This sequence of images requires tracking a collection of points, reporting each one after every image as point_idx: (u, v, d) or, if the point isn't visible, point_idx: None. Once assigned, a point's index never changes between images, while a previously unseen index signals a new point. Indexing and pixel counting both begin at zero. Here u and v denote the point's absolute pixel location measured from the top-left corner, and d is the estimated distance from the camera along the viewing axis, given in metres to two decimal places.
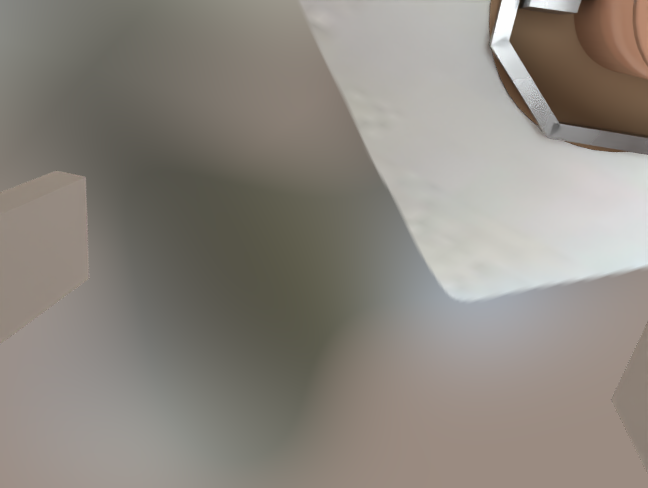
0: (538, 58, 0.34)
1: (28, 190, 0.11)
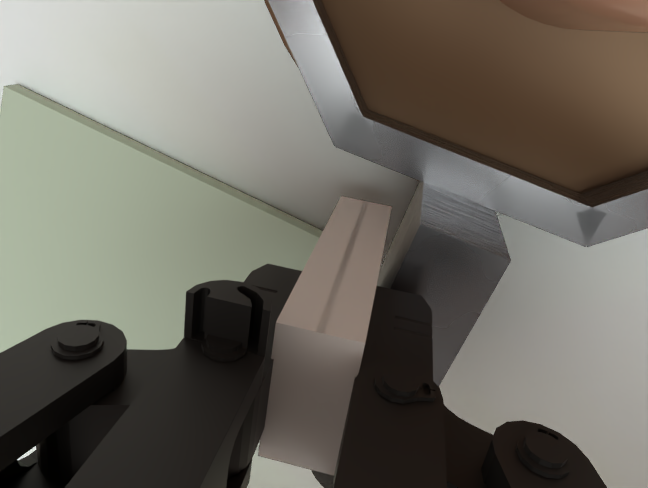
0: None
1: (345, 215, 0.13)
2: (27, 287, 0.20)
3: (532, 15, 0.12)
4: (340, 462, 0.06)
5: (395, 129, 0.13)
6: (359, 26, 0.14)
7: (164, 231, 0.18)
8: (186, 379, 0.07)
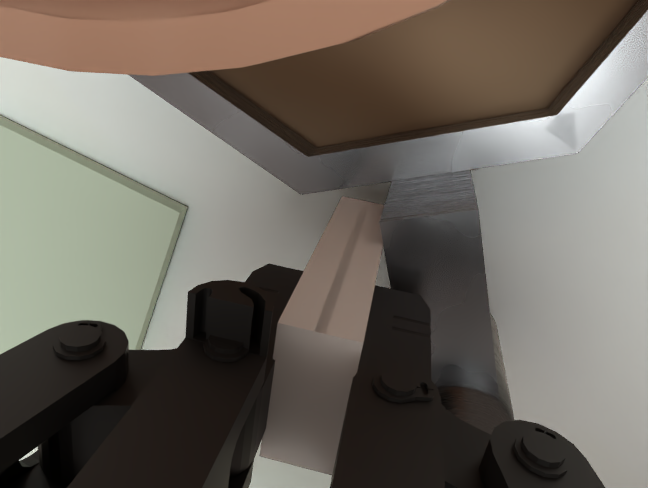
0: None
1: (346, 215, 0.13)
2: None
3: None
4: (338, 462, 0.06)
5: (340, 151, 0.14)
6: None
7: (16, 196, 0.18)
8: (188, 380, 0.07)
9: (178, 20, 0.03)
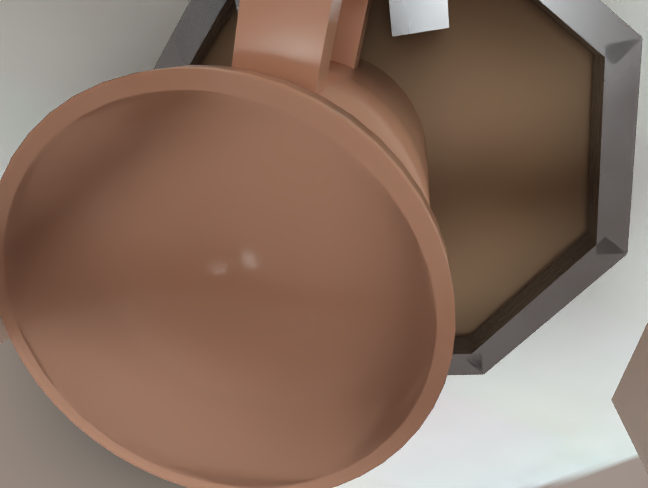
0: None
1: None
2: None
3: None
4: None
5: None
6: None
7: None
8: None
9: (4, 273, 0.10)
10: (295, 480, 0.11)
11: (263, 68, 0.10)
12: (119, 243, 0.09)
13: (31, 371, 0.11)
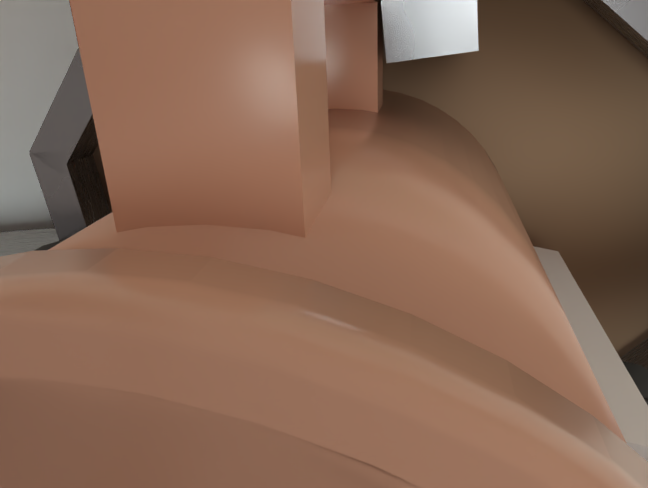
0: None
1: None
2: None
3: None
4: None
5: (77, 196, 0.14)
6: None
7: None
8: None
9: None
10: None
11: (178, 200, 0.04)
12: None
13: None
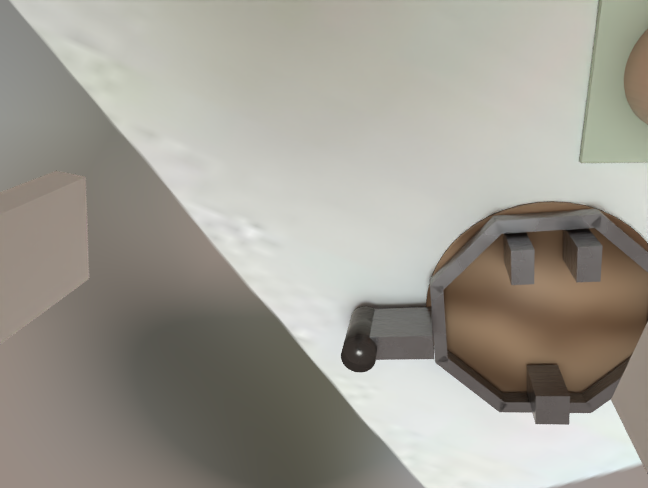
0: (471, 351, 0.44)
1: (28, 189, 0.11)
2: None
3: (631, 71, 0.33)
4: None
5: (443, 300, 0.41)
6: (604, 244, 0.39)
7: None
8: None
9: None
10: None
11: None
12: None
13: None
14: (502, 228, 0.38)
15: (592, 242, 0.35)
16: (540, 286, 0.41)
